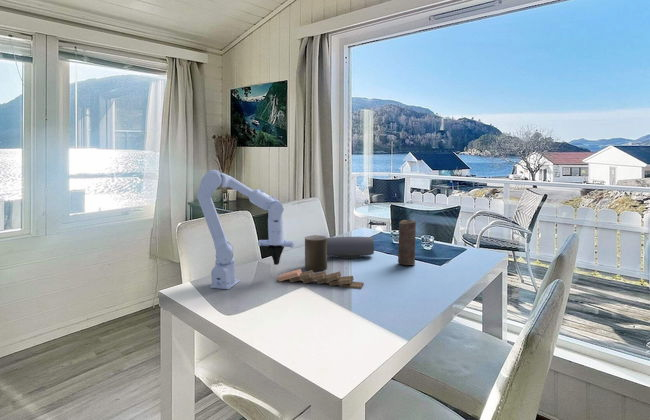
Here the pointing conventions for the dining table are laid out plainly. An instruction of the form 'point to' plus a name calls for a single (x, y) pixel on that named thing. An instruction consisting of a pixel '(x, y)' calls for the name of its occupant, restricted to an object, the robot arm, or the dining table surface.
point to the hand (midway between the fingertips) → (276, 263)
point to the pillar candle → (316, 253)
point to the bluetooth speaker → (350, 246)
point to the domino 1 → (289, 275)
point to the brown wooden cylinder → (407, 242)
